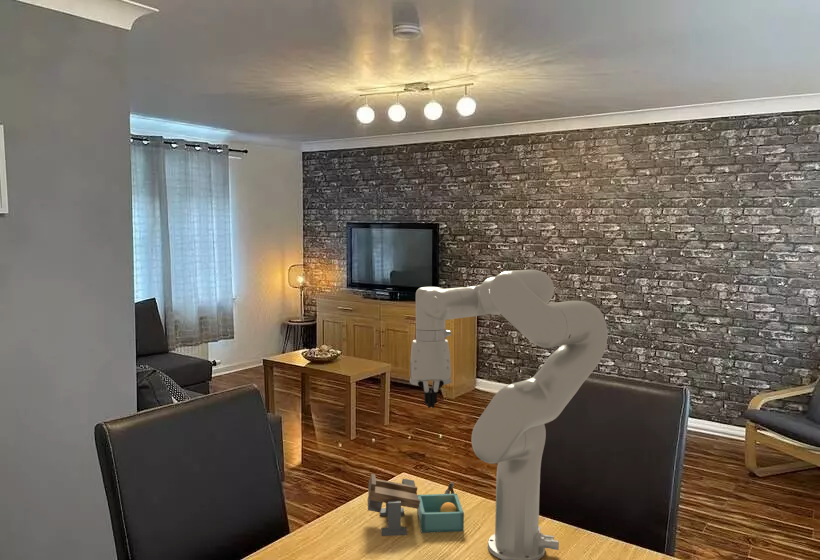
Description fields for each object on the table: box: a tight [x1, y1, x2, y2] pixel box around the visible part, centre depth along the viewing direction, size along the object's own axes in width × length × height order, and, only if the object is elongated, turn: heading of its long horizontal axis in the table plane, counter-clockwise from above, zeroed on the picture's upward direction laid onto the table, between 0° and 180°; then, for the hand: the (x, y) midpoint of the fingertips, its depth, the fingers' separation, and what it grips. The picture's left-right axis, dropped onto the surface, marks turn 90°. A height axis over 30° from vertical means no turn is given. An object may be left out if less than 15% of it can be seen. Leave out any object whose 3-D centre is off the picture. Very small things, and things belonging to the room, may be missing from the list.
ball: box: [440, 502, 457, 512], centre depth 152 cm, size 4×4×4 cm
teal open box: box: [416, 493, 465, 534], centre depth 152 cm, size 10×11×4 cm
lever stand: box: [379, 501, 408, 537], centre depth 151 cm, size 6×12×8 cm, turn 5°
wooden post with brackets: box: [443, 481, 455, 494], centre depth 163 cm, size 2×8×4 cm, turn 151°
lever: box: [367, 473, 420, 513], centre depth 154 cm, size 12×14×6 cm
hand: (430, 406), depth 160 cm, fingers closed
